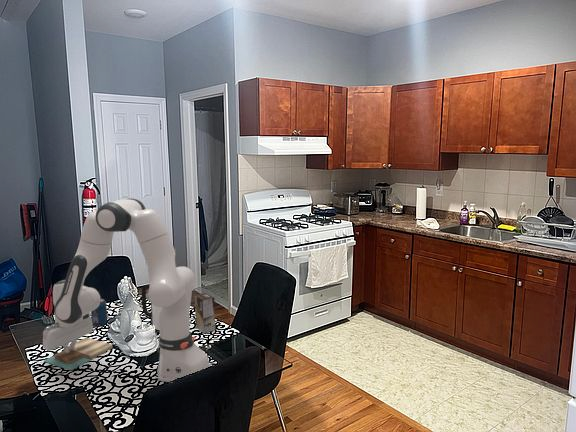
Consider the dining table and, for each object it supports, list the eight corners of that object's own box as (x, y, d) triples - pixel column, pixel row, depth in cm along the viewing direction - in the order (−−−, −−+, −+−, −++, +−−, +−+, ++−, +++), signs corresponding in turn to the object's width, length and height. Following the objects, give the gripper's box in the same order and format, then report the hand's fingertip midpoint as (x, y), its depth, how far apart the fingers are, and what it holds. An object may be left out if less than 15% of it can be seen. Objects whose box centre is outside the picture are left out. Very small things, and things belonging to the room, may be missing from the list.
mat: (90, 360, 171) (90, 359, 171) (70, 370, 163) (70, 369, 163) (63, 352, 177) (63, 351, 177) (43, 361, 170) (43, 360, 170)
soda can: (107, 320, 211) (105, 297, 210) (107, 325, 205) (106, 301, 203) (92, 322, 209) (90, 299, 207) (92, 327, 202) (90, 303, 201)
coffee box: (216, 330, 200) (215, 297, 197) (203, 333, 196) (202, 300, 194) (207, 323, 207) (206, 292, 205) (195, 327, 203) (193, 295, 201)
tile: (82, 357, 172) (82, 353, 172) (69, 364, 167) (69, 359, 166) (68, 353, 176) (67, 348, 176) (54, 359, 171) (54, 354, 170)
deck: (112, 348, 181) (112, 344, 180) (90, 360, 171) (90, 355, 171) (86, 341, 188) (86, 337, 187) (64, 352, 178) (63, 347, 177)
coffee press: (179, 320, 212) (177, 261, 207) (184, 332, 197) (181, 270, 192) (143, 325, 205) (139, 265, 201) (144, 338, 191) (141, 274, 186)
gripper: (48, 330, 158) (51, 364, 160) (94, 311, 177) (96, 342, 179) (37, 327, 161) (40, 361, 163) (83, 309, 179) (86, 339, 181)
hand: (70, 351), depth 171 cm, fingers closed
